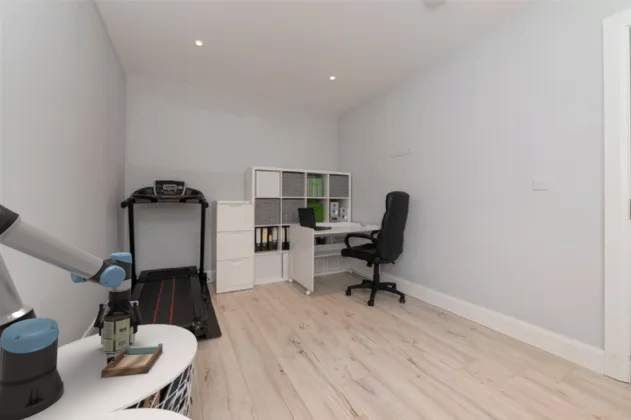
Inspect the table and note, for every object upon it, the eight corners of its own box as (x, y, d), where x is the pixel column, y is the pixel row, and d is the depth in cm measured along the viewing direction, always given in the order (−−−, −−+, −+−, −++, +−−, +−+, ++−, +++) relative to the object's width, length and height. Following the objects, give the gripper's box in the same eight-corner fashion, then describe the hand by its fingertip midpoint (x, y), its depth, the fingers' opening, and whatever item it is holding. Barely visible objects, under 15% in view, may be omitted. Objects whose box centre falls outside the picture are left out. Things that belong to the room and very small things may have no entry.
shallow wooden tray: (101, 377, 90) (101, 370, 90) (120, 357, 103) (121, 350, 103) (147, 373, 93) (147, 366, 93) (160, 353, 106) (161, 347, 106)
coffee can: (118, 340, 116) (119, 308, 116) (138, 343, 114) (139, 310, 114) (95, 352, 106) (96, 317, 106) (117, 355, 104) (118, 320, 104)
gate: (123, 354, 104) (124, 346, 104) (126, 352, 106) (126, 344, 106) (161, 353, 106) (161, 345, 106) (163, 350, 108) (163, 343, 108)
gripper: (83, 293, 104) (81, 349, 104) (146, 290, 109) (144, 344, 108) (94, 287, 111) (92, 339, 111) (153, 285, 116) (151, 335, 116)
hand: (118, 342), depth 110 cm, fingers closed on coffee can, 10 cm apart
